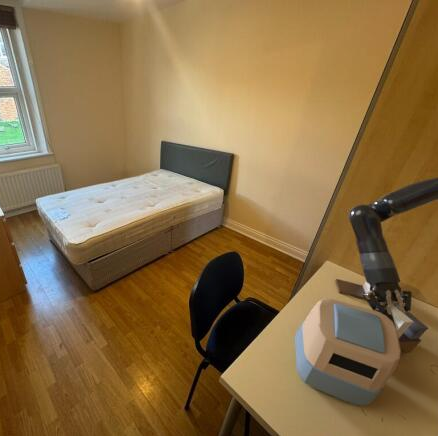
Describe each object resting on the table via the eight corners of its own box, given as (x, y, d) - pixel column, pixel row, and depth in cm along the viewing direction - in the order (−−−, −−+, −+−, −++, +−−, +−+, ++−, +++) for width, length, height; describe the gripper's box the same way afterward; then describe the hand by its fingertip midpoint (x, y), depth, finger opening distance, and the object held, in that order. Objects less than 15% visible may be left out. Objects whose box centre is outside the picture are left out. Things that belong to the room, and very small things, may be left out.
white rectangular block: (376, 321, 74) (390, 302, 70) (396, 340, 69) (413, 321, 64) (368, 322, 74) (382, 303, 70) (387, 341, 69) (404, 322, 64)
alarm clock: (293, 385, 64) (324, 334, 53) (291, 334, 77) (315, 285, 66) (369, 417, 58) (423, 368, 46) (352, 356, 71) (391, 305, 59)
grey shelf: (387, 330, 78) (405, 307, 72) (410, 352, 72) (432, 329, 66) (337, 333, 77) (352, 311, 72) (356, 356, 71) (374, 333, 65)
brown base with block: (378, 292, 93) (391, 273, 87) (385, 305, 87) (399, 286, 82) (335, 280, 98) (345, 262, 93) (338, 292, 92) (349, 274, 87)
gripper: (368, 268, 68) (387, 331, 63) (413, 265, 69) (435, 328, 64) (346, 269, 75) (362, 326, 71) (387, 266, 76) (405, 323, 71)
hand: (397, 327), depth 67 cm, fingers closed on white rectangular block, 3 cm apart
